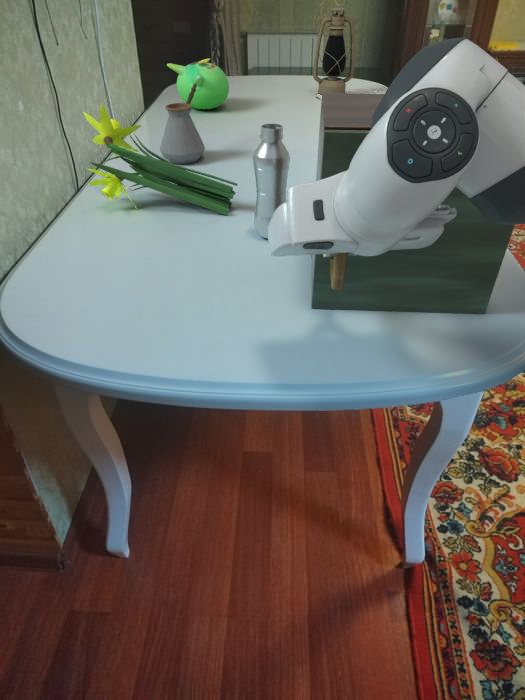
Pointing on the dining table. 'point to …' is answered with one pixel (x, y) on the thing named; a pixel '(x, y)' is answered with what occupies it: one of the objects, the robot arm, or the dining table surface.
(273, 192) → the silver bottle
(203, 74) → the toy bird
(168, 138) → the coffee pot
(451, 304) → the cupboard door
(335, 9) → the lantern
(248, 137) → the dining table surface
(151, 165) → the daffodil flowers
